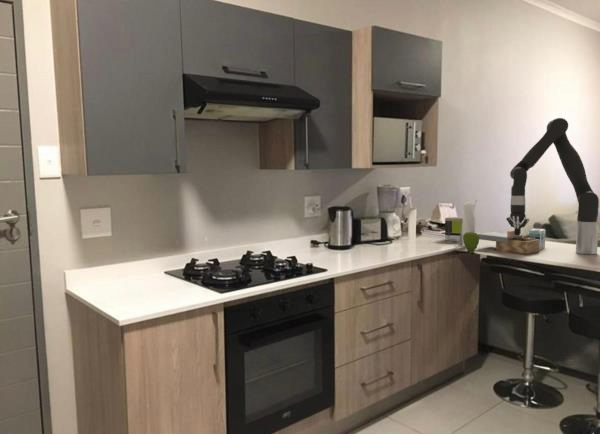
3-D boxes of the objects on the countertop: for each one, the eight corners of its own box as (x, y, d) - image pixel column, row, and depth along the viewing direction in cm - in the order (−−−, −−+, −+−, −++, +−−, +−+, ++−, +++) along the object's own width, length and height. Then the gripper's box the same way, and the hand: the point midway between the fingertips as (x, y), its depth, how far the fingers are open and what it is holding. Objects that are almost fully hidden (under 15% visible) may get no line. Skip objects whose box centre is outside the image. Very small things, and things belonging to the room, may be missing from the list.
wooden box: (539, 252, 278) (539, 239, 277) (526, 254, 270) (526, 241, 270) (508, 248, 292) (509, 236, 292) (495, 250, 285) (496, 238, 284)
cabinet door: (522, 240, 286) (522, 229, 286) (507, 242, 278) (507, 232, 277) (492, 236, 302) (492, 226, 301) (477, 239, 293) (477, 228, 292)
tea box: (472, 240, 324) (473, 217, 323) (468, 242, 316) (469, 218, 314) (448, 238, 332) (449, 216, 331) (444, 240, 324) (444, 217, 322)
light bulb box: (541, 250, 285) (541, 230, 284) (528, 248, 289) (528, 230, 288) (545, 247, 293) (546, 228, 292) (532, 246, 298) (533, 228, 296)
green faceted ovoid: (482, 251, 281) (482, 231, 280) (471, 253, 277) (472, 232, 276) (470, 249, 289) (470, 229, 287) (459, 251, 285) (459, 230, 283)
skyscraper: (473, 245, 304) (474, 199, 301) (476, 247, 296) (478, 200, 293) (459, 245, 305) (460, 199, 302) (462, 247, 297) (463, 200, 294)
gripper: (533, 203, 276) (532, 235, 277) (510, 203, 286) (510, 233, 288) (525, 204, 271) (525, 236, 273) (503, 203, 282) (502, 234, 283)
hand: (517, 235), depth 280 cm, fingers closed
